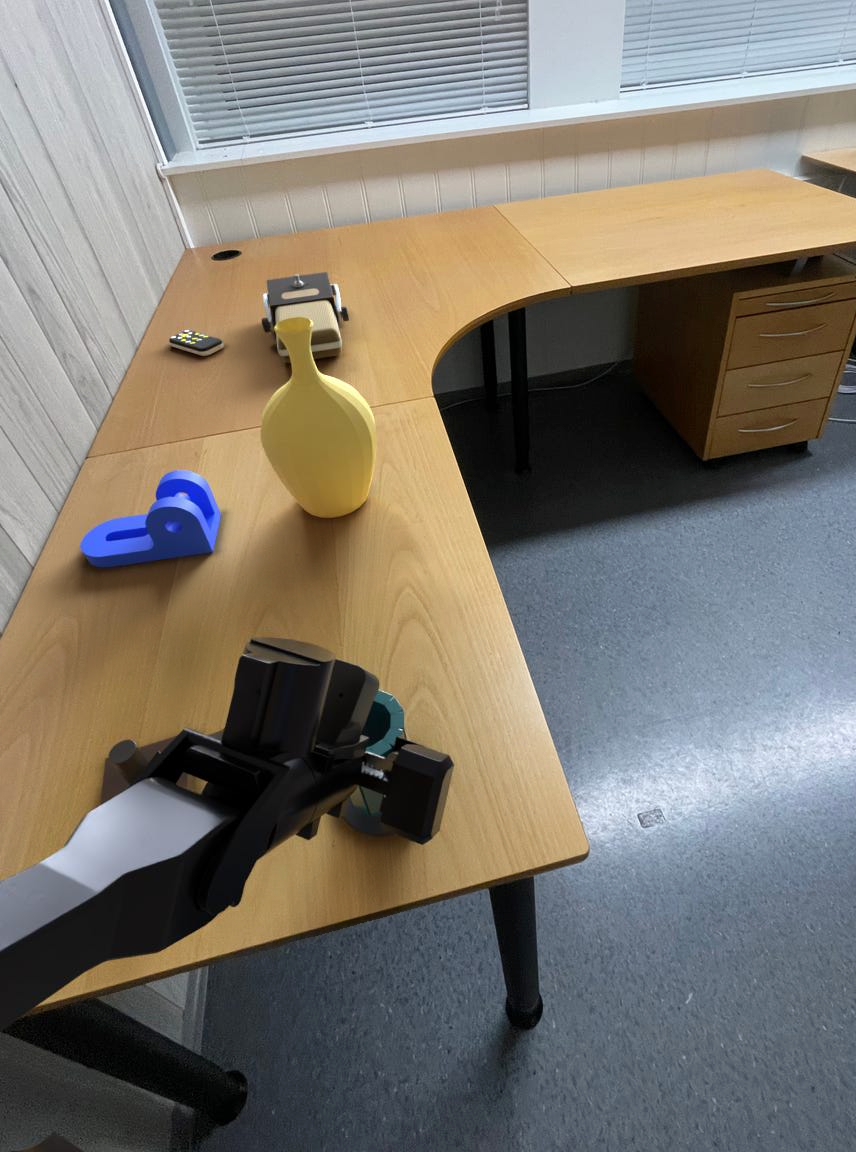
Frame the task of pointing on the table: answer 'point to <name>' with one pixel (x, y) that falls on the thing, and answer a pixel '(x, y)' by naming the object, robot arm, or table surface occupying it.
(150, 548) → the bracket
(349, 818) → the pad
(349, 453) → the vase
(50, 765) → the table surface
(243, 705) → the robot arm
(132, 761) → the stand
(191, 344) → the remote control
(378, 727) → the slatted teal pen holder
